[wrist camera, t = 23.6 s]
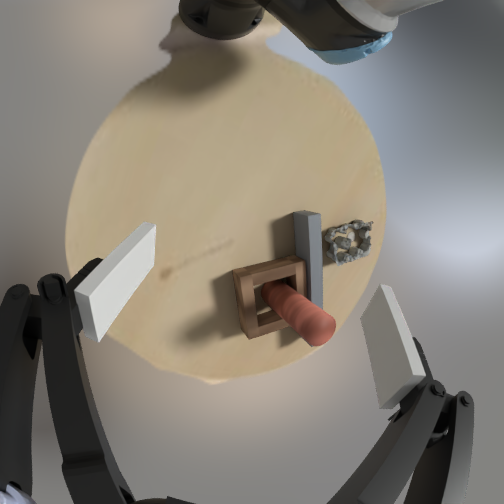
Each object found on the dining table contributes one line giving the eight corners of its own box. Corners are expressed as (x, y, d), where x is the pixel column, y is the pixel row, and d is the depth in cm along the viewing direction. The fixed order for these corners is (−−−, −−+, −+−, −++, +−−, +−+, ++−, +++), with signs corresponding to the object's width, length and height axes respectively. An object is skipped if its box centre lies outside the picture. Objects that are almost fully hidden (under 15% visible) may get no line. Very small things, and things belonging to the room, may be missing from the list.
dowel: (259, 282, 50) (306, 321, 36) (284, 275, 52) (336, 310, 38) (262, 306, 52) (306, 350, 37) (285, 299, 53) (335, 339, 39)
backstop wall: (293, 212, 49) (308, 215, 45) (304, 210, 50) (320, 213, 46) (299, 335, 57) (311, 346, 53) (309, 331, 58) (322, 342, 53)
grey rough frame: (361, 216, 56) (375, 219, 53) (362, 250, 59) (375, 254, 55) (322, 226, 53) (335, 230, 49) (325, 263, 55) (337, 268, 52)
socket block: (232, 269, 48) (239, 277, 44) (293, 254, 52) (305, 260, 48) (241, 329, 51) (248, 339, 48) (297, 311, 55) (307, 319, 52)
